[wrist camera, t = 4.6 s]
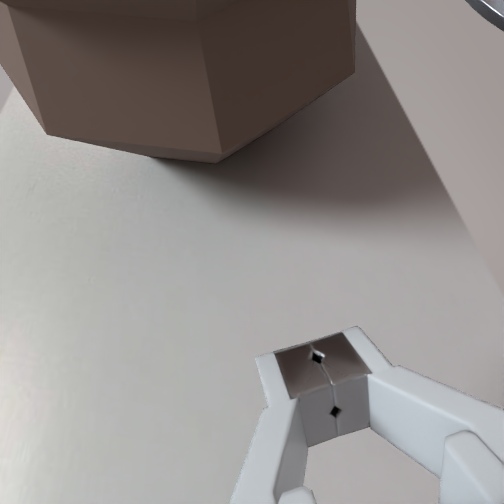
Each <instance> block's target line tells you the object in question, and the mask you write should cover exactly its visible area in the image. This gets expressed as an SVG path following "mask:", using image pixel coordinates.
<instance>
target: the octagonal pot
mask: <svg viewBox="0 0 504 504" xmlns="http://www.w3.org/2000/svg"><path fill="white" fill-rule="evenodd" d="M355 27H356V0H0V64H1V66H2V67H3V69H4V70H5V72H6V73H7V75H8V76H9V78H10V79H11V81H12V82H13V84H14V85H15V87H16V88H17V90H18V91H19V93H20V94H21V96H22V97H23V99H24V100H25V102H26V104H27V105H28V107H29V108H30V110H31V111H32V113H33V114H34V116H35V117H36V119H37V120H38V122H39V123H40V125H41V126H42V128H43V129H44V131H45V132H46V134H47V135H51V136H56V137H61V138H65V139H70V140H74V141H79V142H84V143H88V144H93V145H98V146H102V147H107V148H112V149H116V150H121V151H126V152H130V153H135V154H140V155H144V156H150V157H159V158H168V159H177V160H186V161H195V162H204V163H213V164H217V163H219V162H220V161H222V160H224V159H225V158H227V157H229V156H230V155H232V154H233V153H235V152H237V151H238V150H240V149H241V148H243V147H245V146H246V145H248V144H250V143H251V142H253V141H254V140H256V139H258V138H259V137H261V136H262V135H264V134H266V133H267V132H269V131H271V130H272V129H274V128H275V127H276V126H278V125H279V124H281V123H282V122H284V121H285V120H287V119H288V118H289V117H291V116H292V115H294V114H295V113H297V112H298V111H300V110H301V109H303V108H304V107H305V106H307V105H308V104H310V103H311V102H313V101H314V100H316V99H317V98H318V97H320V96H321V95H323V94H324V93H326V92H327V91H329V90H330V89H331V88H333V87H334V86H336V85H337V84H339V83H340V82H342V81H343V80H344V79H346V78H347V77H349V76H350V75H352V74H353V73H354V71H355Z"/></svg>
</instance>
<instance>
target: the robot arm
mask: <svg viewBox="0 0 504 504" xmlns="http://www.w3.org/2000/svg"><path fill="white" fill-rule="evenodd" d="M256 363H257V367H258V371H259V374H260V378H261V382H262V386H263V390H264V394H265V397H266V401H267V405H268V407H266V408H263V411H262V414H261V417H260V420H259V422H258V425H257V428H256V431H255V434H254V436H253V439H252V442H251V445H250V448H249V450H248V453H247V456H246V459H245V462H244V464H243V467H242V470H241V473H240V476H239V478H238V481H237V484H236V487H235V489H234V492H233V495H232V498H231V501H230V503H229V504H317V503H316V500H315V498H314V495H313V492H312V490H310V489H308V488H306V487H304V486H303V483H304V476H305V469H306V462H307V456H308V447H311V446H314V445H317V444H319V443H322V442H325V441H327V440H330V439H333V438H335V437H338V436H341V435H345V434H348V433H351V432H355V431H358V430H361V429H365V428H368V427H371V429H372V430H373V431H375V432H376V433H377V434H379V435H380V436H382V437H383V438H384V439H386V440H387V441H388V442H390V443H391V444H393V445H394V446H395V447H397V448H398V449H399V450H401V451H402V452H404V453H405V454H406V455H408V456H409V457H411V458H412V459H413V460H415V461H416V462H417V463H419V464H420V465H422V466H423V467H424V468H426V469H427V470H429V471H430V472H431V473H433V474H434V475H435V476H437V477H438V478H440V479H441V483H440V493H439V503H438V504H504V409H502V408H500V407H497V406H495V405H492V404H490V403H488V402H485V401H483V400H481V399H478V398H476V397H473V396H471V395H469V394H466V393H464V392H462V391H459V390H457V389H454V388H452V387H450V386H447V385H445V384H442V383H440V382H438V381H435V380H433V379H431V378H428V377H426V376H423V375H421V374H419V373H416V372H414V371H412V370H409V369H407V368H404V367H402V366H400V365H398V366H394V367H393V366H392V364H391V363H390V362H389V361H388V360H387V359H386V357H385V356H384V355H383V354H382V353H381V351H380V350H379V349H378V348H377V347H376V346H375V344H374V343H373V342H372V341H371V340H370V339H369V337H368V336H367V335H366V334H365V333H364V332H363V330H362V329H361V328H360V327H358V326H355V327H352V328H349V329H346V330H343V331H340V332H337V333H334V334H331V335H328V336H324V337H321V338H318V339H315V340H312V341H308V342H306V343H302V344H298V345H295V346H291V347H288V348H284V349H280V350H277V351H273V352H271V353H267V354H264V355H260V356H256Z"/></svg>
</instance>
